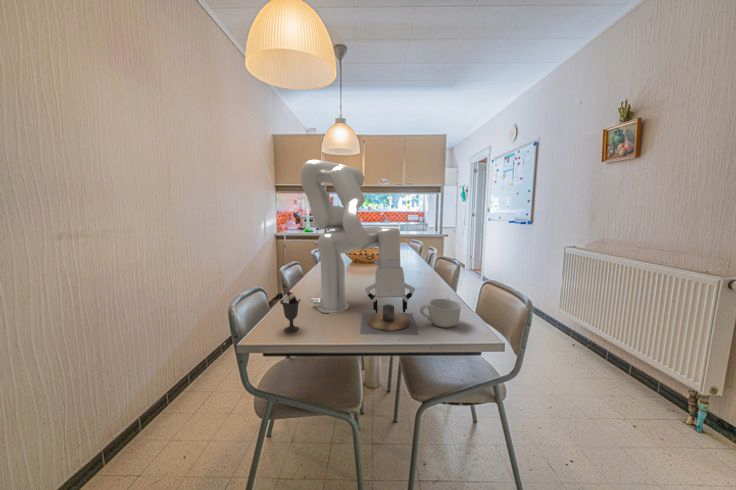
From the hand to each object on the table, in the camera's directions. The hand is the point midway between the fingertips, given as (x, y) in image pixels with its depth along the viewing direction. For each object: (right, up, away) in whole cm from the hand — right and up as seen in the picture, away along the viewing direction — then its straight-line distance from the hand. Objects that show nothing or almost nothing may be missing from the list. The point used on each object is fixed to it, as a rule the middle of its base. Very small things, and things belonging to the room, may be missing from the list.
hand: (390, 311), depth 101 cm
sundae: (-34, -5, -4) cm, 34 cm away
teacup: (+17, -5, 0) cm, 18 cm away
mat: (-1, -5, +1) cm, 5 cm away
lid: (-1, -4, +1) cm, 4 cm away
